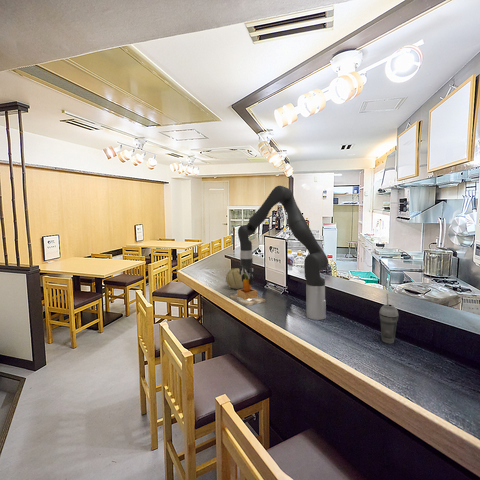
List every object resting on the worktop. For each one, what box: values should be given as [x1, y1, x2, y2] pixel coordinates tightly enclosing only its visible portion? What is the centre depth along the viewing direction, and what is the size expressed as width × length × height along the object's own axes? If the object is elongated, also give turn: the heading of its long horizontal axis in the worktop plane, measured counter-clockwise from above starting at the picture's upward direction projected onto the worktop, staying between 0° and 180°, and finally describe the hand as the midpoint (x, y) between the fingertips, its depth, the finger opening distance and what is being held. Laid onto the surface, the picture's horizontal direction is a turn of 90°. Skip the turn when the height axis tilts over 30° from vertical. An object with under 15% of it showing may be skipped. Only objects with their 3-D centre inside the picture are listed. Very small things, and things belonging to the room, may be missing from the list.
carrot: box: [242, 274, 252, 293], centre depth 174 cm, size 5×5×15 cm
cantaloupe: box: [225, 267, 246, 290], centre depth 199 cm, size 15×15×15 cm
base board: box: [229, 293, 267, 307], centre depth 175 cm, size 14×20×1 cm
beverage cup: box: [378, 293, 399, 344], centre depth 116 cm, size 7×7×20 cm
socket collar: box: [236, 288, 258, 301], centre depth 175 cm, size 13×13×5 cm
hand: (247, 283), depth 174 cm, fingers open, 8 cm apart
